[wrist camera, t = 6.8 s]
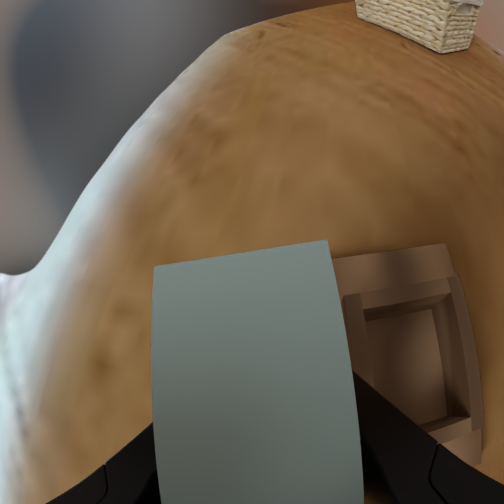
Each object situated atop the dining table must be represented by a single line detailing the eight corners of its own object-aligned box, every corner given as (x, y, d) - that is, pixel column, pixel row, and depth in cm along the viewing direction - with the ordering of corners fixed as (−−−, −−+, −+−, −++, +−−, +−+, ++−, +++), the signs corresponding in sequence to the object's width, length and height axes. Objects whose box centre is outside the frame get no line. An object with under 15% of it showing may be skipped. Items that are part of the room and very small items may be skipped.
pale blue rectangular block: (314, 344, 14) (326, 239, 5) (326, 445, 11) (365, 541, 2) (252, 353, 14) (154, 266, 5) (260, 452, 11) (168, 544, 3)
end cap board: (441, 248, 21) (462, 219, 17) (475, 461, 13) (505, 469, 9) (302, 268, 23) (300, 239, 19) (323, 504, 14) (326, 528, 10)
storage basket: (348, 16, 46) (344, -41, 33) (393, 11, 48) (393, -38, 35) (441, 60, 35) (451, -12, 22) (476, 52, 36) (486, -4, 23)
